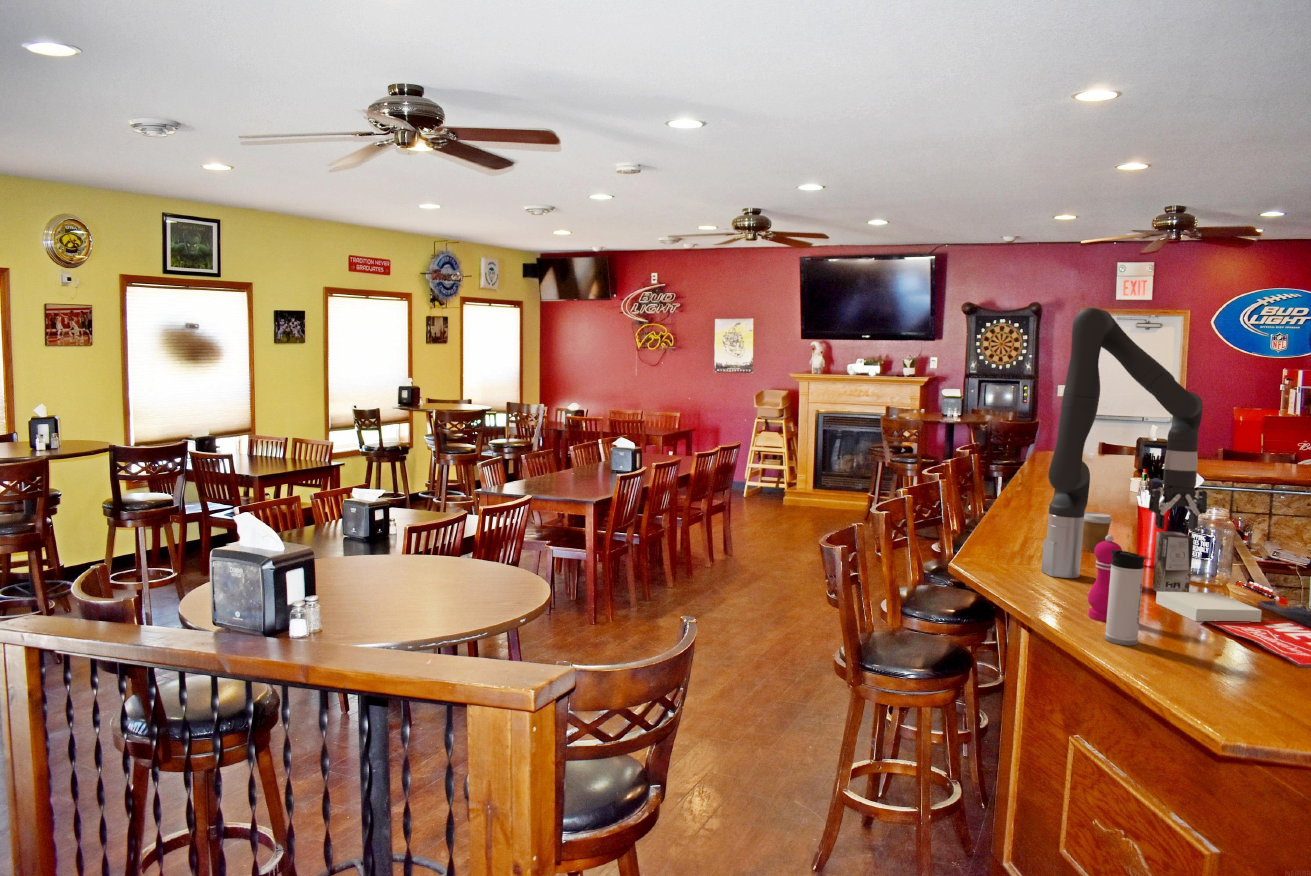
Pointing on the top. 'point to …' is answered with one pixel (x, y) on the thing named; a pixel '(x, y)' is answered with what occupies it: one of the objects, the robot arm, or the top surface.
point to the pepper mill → (1102, 579)
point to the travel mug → (1124, 598)
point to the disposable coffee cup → (1095, 529)
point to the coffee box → (1172, 562)
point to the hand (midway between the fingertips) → (1176, 528)
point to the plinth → (1208, 606)
